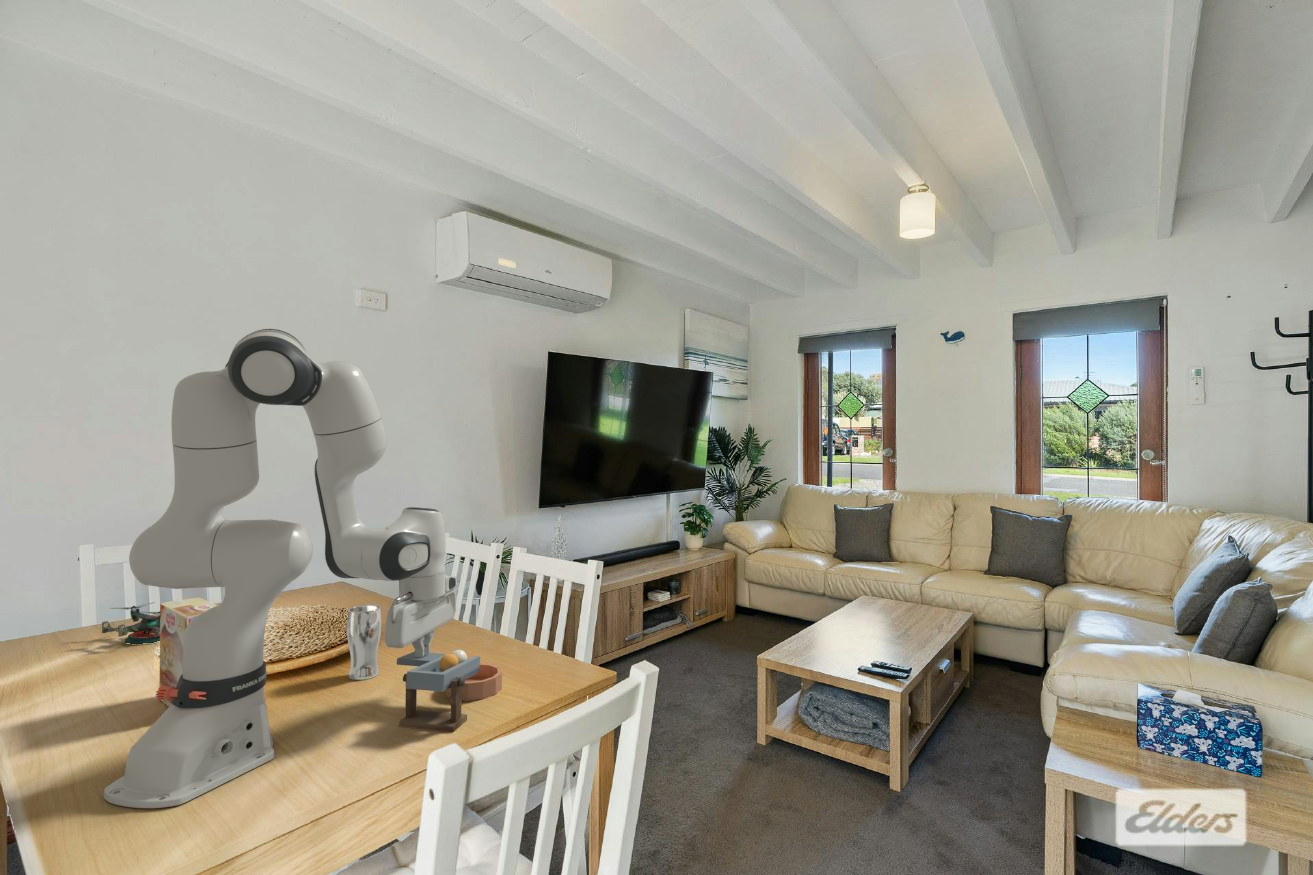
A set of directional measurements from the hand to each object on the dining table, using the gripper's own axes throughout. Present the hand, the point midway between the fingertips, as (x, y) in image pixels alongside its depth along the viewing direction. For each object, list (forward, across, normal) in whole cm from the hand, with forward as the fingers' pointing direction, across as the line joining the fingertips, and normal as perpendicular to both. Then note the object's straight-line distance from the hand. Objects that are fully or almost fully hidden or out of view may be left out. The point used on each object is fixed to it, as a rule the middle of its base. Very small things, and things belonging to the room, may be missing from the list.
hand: (422, 655), depth 124 cm
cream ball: (0, +1, -7) cm, 7 cm away
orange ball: (0, -3, -7) cm, 8 cm away
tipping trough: (+3, -4, -4) cm, 6 cm away
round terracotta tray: (+9, +8, -7) cm, 14 cm away
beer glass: (+10, +10, +21) cm, 25 cm away
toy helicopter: (+10, +20, +93) cm, 95 cm away
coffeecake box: (+9, -10, +45) cm, 47 cm away
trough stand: (+9, -8, -7) cm, 14 cm away
